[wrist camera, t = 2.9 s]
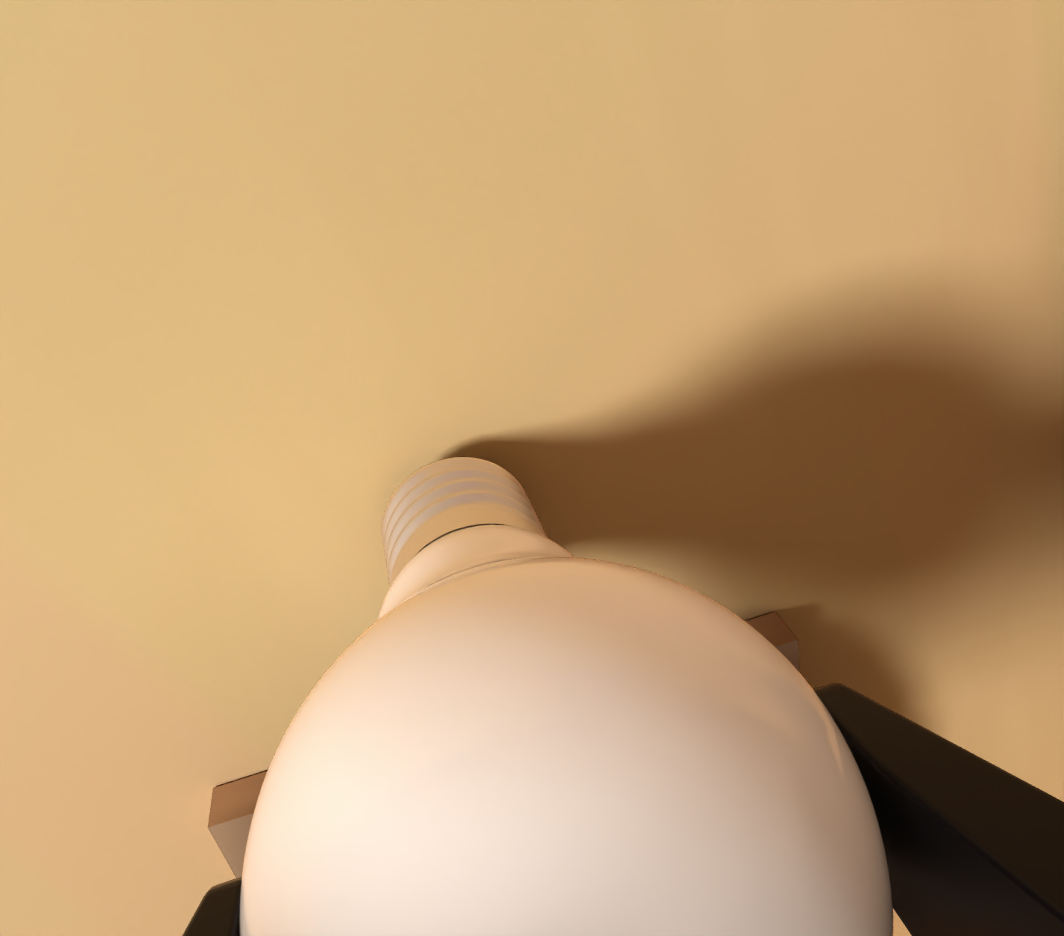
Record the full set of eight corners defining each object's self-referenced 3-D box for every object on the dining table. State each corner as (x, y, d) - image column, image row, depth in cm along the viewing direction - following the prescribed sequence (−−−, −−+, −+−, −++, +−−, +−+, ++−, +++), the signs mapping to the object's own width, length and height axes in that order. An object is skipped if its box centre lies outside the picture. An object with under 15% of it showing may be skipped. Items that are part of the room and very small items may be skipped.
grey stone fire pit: (773, 582, 18) (881, 710, 15) (794, 918, 24) (876, 1066, 20) (198, 761, 17) (168, 947, 13) (366, 1071, 23) (376, 1259, 19)
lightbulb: (467, 263, 14) (832, 770, 4) (677, 501, 17) (1168, 1112, 7) (193, 513, 15) (-36, 1424, 5) (440, 697, 18) (595, 1482, 8)
